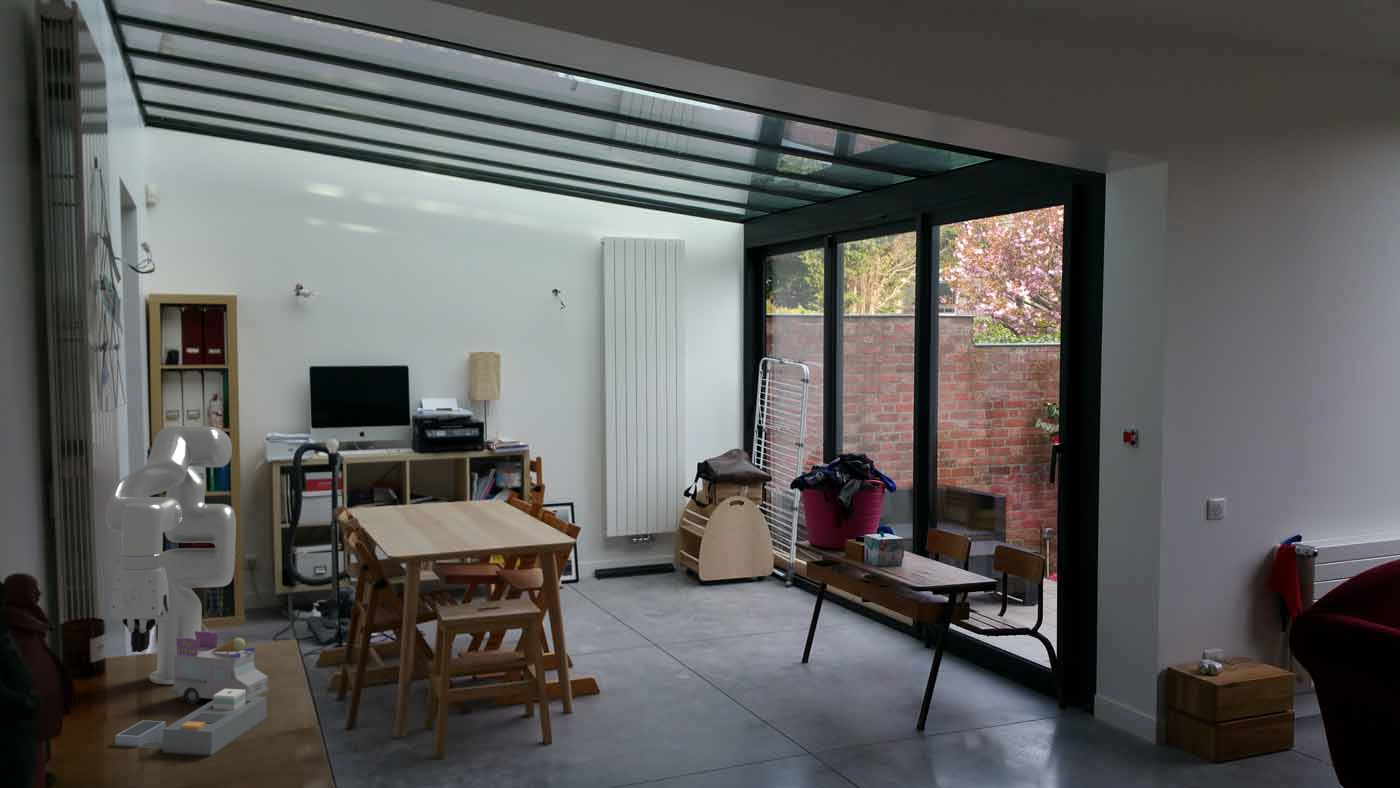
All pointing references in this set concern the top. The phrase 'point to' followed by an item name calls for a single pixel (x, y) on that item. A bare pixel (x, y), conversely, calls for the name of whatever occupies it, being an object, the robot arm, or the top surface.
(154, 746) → the mat
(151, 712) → the top surface
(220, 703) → the charger
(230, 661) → the toy vehicle
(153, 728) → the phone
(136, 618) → the robot arm
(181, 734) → the grey compartment tray
